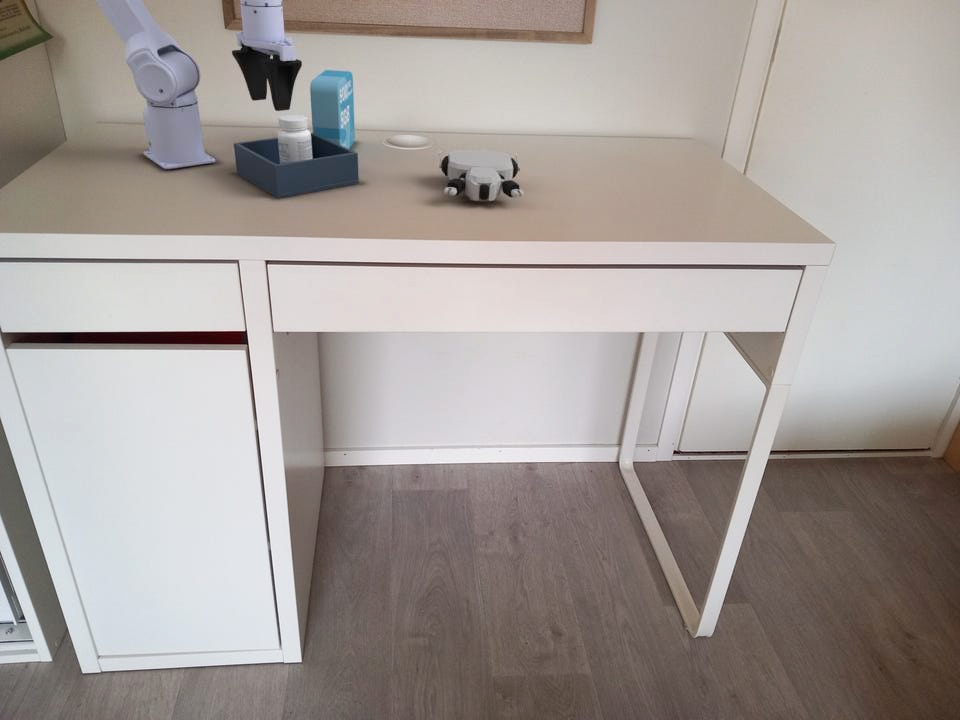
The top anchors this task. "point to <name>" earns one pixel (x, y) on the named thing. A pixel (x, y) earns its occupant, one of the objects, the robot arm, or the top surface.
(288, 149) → the pill bottle
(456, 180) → the robot toy
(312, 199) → the top surface
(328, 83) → the blue carton
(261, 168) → the tote
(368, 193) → the top surface
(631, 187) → the top surface
